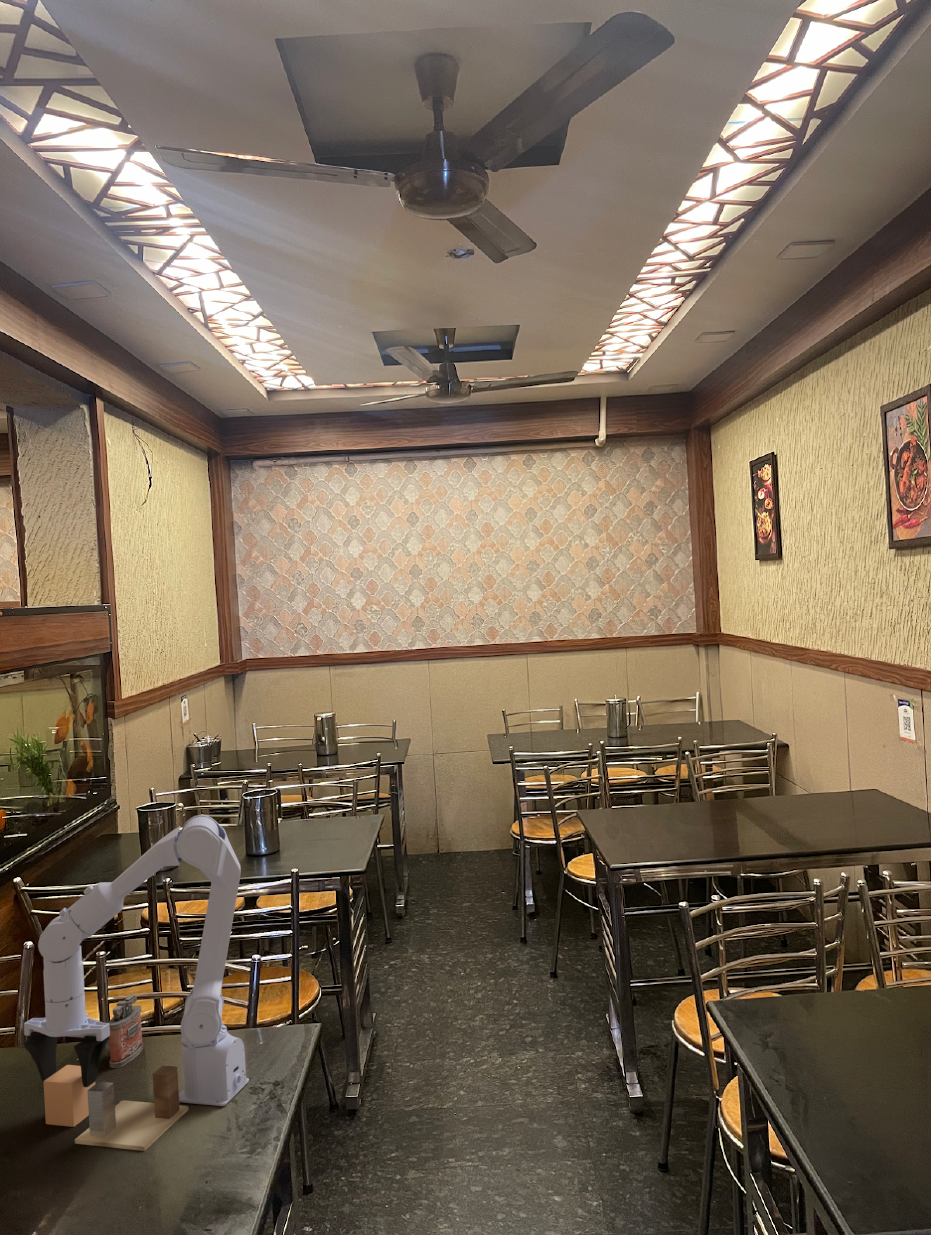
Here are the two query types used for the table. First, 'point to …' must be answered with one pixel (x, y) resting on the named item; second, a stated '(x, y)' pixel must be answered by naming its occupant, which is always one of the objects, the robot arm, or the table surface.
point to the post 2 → (166, 1092)
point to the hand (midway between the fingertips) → (69, 1082)
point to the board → (133, 1127)
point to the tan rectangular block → (66, 1097)
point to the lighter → (125, 1032)
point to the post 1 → (101, 1109)
